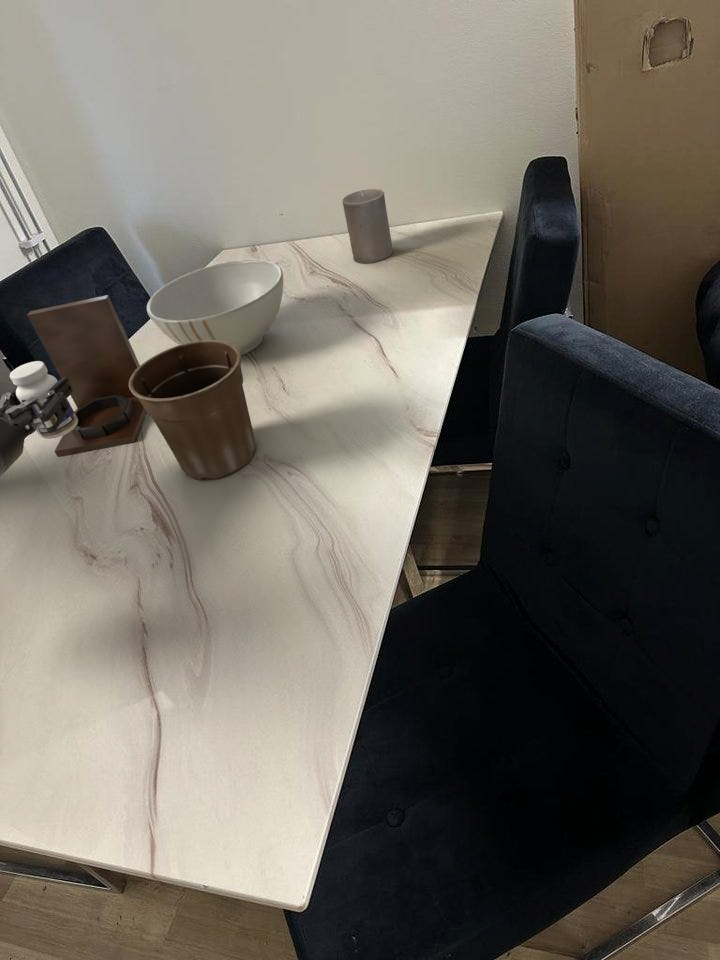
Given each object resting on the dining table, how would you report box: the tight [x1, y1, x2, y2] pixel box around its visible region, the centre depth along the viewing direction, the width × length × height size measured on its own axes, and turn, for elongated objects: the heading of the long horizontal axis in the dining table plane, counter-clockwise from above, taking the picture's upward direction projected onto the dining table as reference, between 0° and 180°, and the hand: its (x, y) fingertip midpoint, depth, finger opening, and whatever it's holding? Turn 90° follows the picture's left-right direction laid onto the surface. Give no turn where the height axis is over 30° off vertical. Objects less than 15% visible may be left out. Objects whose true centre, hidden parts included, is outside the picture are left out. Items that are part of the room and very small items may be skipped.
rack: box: [26, 294, 148, 457], centre depth 113 cm, size 14×15×20 cm
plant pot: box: [129, 340, 257, 481], centre depth 99 cm, size 16×16×16 cm
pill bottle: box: [9, 360, 78, 440], centre depth 93 cm, size 6×6×10 cm
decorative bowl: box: [146, 259, 284, 356], centre depth 131 cm, size 27×27×12 cm
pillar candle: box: [342, 188, 394, 264], centre depth 153 cm, size 10×10×15 cm
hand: (49, 384), depth 95 cm, fingers closed on pill bottle, 5 cm apart
